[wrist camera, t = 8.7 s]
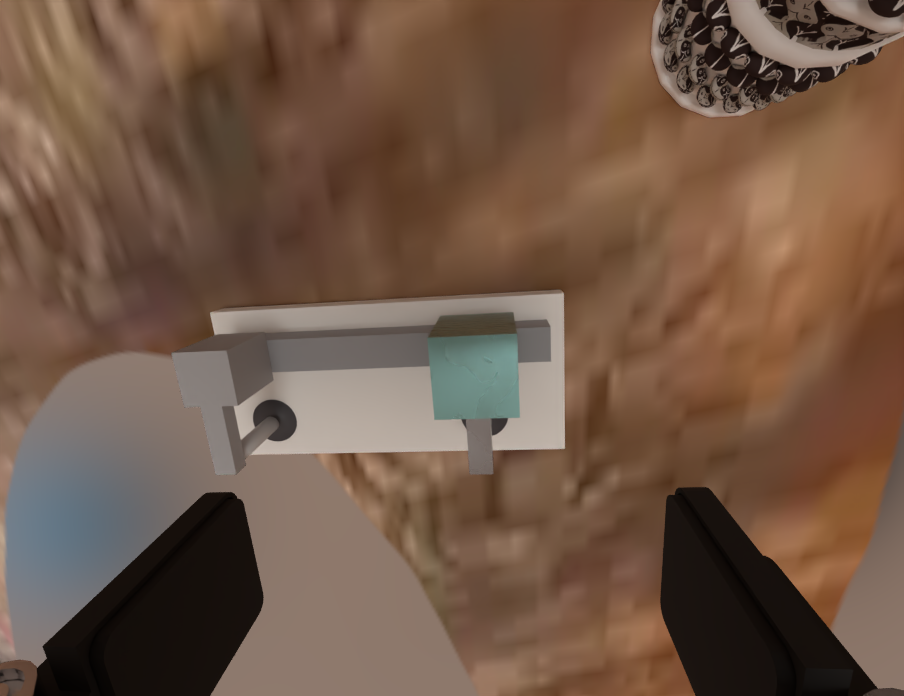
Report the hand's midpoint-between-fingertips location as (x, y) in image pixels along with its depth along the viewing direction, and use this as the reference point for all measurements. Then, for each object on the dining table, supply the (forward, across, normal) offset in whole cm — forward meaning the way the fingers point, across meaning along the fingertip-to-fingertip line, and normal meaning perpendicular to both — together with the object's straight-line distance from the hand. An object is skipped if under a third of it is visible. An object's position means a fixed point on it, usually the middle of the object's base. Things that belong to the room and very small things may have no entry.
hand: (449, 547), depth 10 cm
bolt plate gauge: (+20, +6, +3) cm, 21 cm away
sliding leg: (+18, 0, +2) cm, 18 cm away
